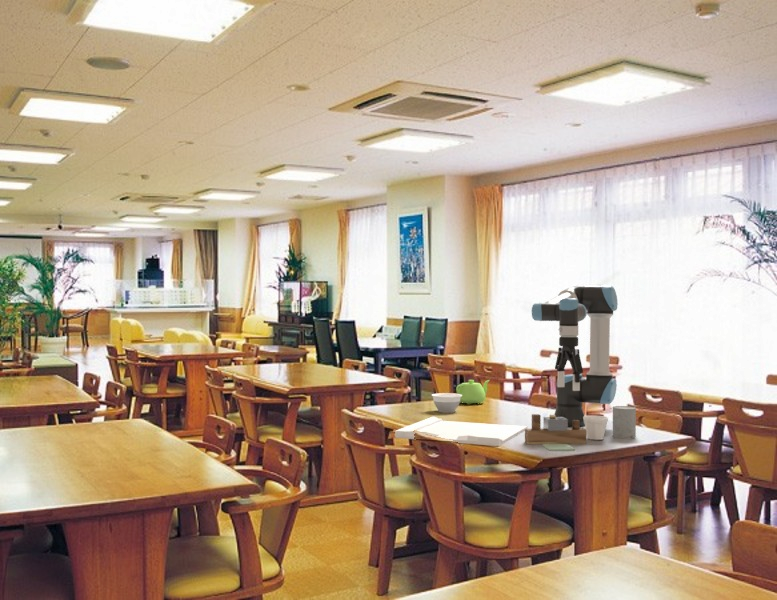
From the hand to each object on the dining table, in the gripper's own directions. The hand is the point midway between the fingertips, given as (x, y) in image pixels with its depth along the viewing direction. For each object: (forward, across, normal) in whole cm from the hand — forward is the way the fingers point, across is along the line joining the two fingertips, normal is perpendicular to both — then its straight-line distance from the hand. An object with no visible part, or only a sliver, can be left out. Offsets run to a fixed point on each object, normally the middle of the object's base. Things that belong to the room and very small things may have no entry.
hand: (568, 389), depth 322 cm
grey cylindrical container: (+22, -9, +30) cm, 38 cm away
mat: (+22, +9, -8) cm, 25 cm away
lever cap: (+16, -2, -5) cm, 17 cm away
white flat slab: (+23, -32, -34) cm, 52 cm away
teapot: (+22, -125, +3) cm, 127 cm away
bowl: (+22, -97, -21) cm, 102 cm away
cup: (+22, -6, +15) cm, 27 cm away
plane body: (+22, -2, -5) cm, 22 cm away
